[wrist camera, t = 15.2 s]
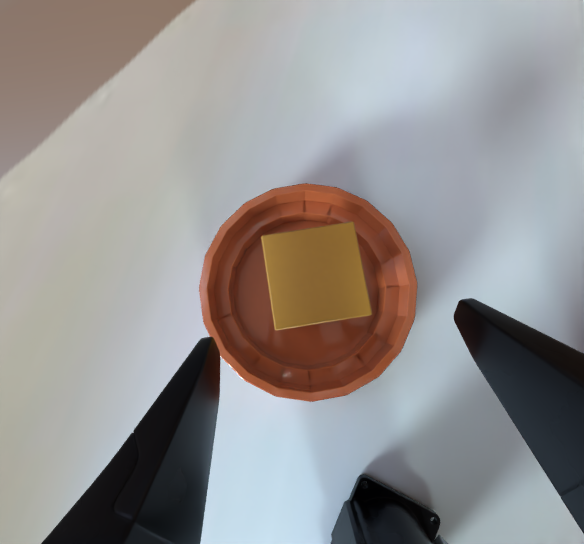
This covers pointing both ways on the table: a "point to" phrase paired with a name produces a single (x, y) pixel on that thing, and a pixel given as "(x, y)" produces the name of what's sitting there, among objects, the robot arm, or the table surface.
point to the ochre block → (315, 276)
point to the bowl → (313, 338)
